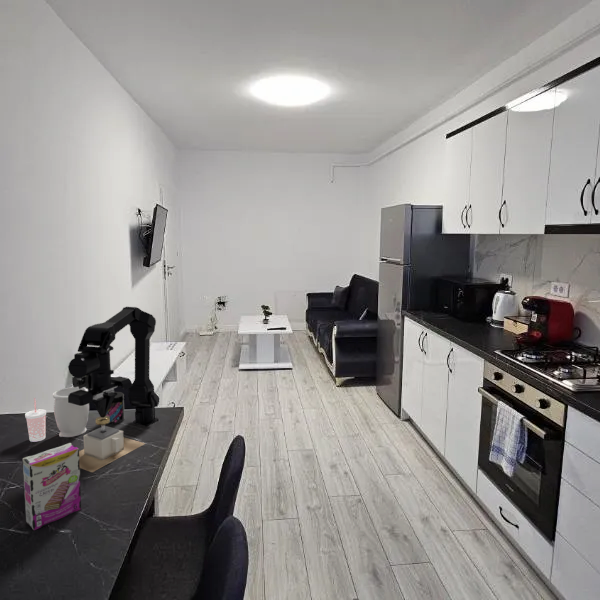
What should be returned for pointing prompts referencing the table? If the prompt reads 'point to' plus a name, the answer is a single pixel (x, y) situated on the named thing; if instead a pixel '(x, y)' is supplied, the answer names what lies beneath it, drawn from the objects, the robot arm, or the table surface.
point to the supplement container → (116, 409)
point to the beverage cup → (36, 424)
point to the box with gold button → (103, 442)
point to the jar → (70, 413)
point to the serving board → (95, 464)
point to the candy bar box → (51, 485)
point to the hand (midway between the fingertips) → (102, 417)
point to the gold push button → (103, 422)
